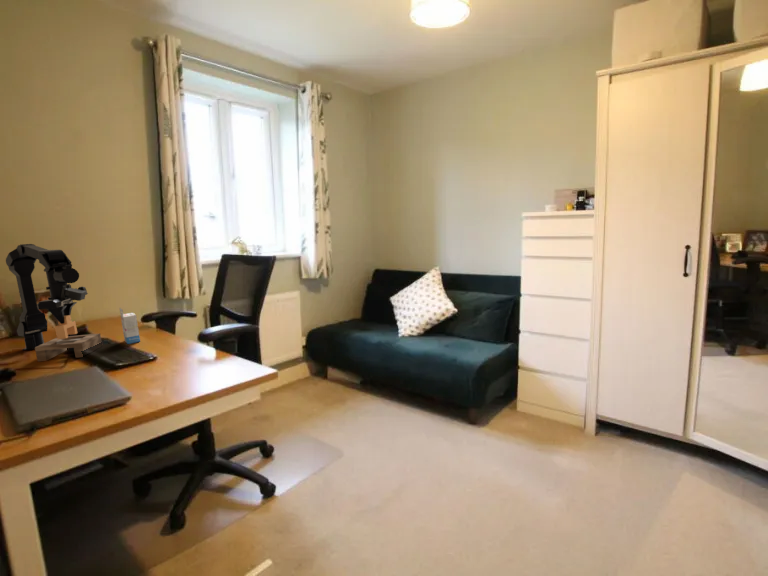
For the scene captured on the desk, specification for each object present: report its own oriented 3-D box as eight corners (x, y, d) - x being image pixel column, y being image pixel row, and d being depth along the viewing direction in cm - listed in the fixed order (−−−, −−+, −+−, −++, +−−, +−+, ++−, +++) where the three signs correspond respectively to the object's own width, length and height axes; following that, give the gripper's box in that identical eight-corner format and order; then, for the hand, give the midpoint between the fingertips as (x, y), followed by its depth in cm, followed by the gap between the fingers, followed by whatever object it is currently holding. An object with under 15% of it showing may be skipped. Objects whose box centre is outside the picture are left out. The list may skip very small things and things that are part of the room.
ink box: (141, 341, 177) (135, 307, 174) (127, 344, 174) (121, 309, 171) (137, 338, 183) (132, 305, 181) (124, 340, 180) (118, 307, 178)
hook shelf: (59, 350, 170) (57, 337, 170) (102, 346, 173) (100, 333, 172) (37, 361, 157) (34, 347, 156) (84, 356, 159) (81, 342, 158)
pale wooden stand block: (69, 333, 167) (65, 314, 166) (77, 333, 168) (73, 313, 166) (57, 339, 159) (53, 318, 158) (65, 338, 160) (62, 318, 159)
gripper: (66, 284, 152) (74, 326, 155) (93, 278, 171) (99, 315, 173) (32, 287, 151) (41, 329, 153) (63, 280, 169) (70, 318, 171)
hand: (65, 322), depth 163 cm, fingers closed on pale wooden stand block, 3 cm apart
